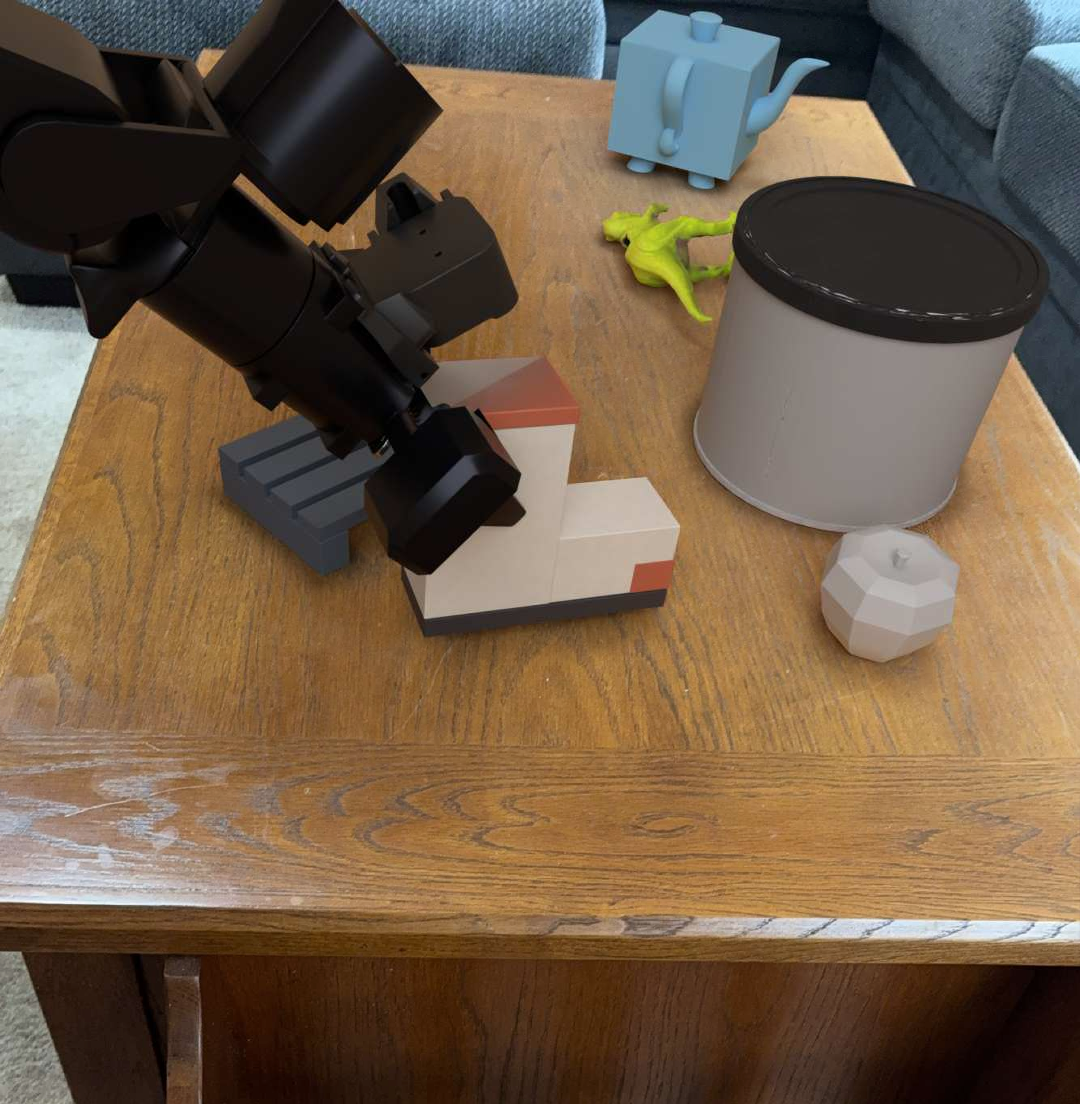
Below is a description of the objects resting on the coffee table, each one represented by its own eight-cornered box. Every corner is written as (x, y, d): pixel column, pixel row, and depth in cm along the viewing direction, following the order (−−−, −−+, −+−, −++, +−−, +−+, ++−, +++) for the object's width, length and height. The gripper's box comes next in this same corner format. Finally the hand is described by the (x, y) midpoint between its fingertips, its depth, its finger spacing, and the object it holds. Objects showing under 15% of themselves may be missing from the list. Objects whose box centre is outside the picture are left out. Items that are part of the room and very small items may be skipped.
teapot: (595, 176, 105) (614, 22, 96) (647, 124, 115) (669, -20, 106) (776, 224, 102) (815, 70, 92) (814, 166, 112) (852, 21, 102)
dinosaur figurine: (800, 325, 89) (821, 250, 85) (698, 349, 86) (714, 272, 81) (664, 219, 100) (676, 148, 96) (568, 236, 96) (576, 162, 92)
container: (667, 495, 72) (714, 275, 61) (713, 356, 85) (759, 152, 74) (955, 564, 70) (1058, 348, 59) (959, 411, 83) (1045, 209, 72)
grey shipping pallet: (323, 577, 64) (319, 529, 62) (223, 494, 68) (216, 446, 66) (520, 476, 72) (525, 431, 70) (421, 408, 77) (421, 362, 74)
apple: (787, 591, 67) (817, 503, 62) (912, 595, 68) (951, 509, 63) (816, 686, 62) (851, 599, 57) (951, 690, 63) (997, 603, 58)
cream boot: (421, 638, 59) (431, 417, 49) (398, 579, 62) (404, 362, 53) (665, 606, 63) (715, 397, 54) (631, 552, 66) (673, 347, 57)
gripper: (488, 260, 37) (705, 482, 49) (333, 61, 48) (541, 281, 60) (272, 491, 40) (524, 647, 52) (173, 255, 51) (400, 428, 63)
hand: (498, 486), depth 57 cm, fingers closed on cream boot, 5 cm apart
